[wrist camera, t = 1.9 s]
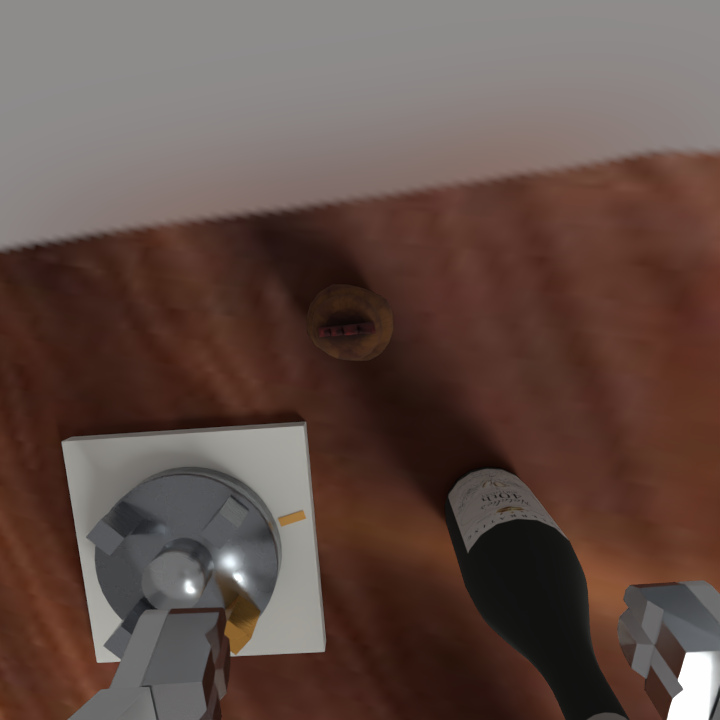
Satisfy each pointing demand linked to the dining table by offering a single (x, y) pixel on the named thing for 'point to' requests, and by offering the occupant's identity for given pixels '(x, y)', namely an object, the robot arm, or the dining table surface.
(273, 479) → the base plate
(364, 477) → the dining table surface
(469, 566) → the wine bottle
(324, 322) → the wooden figurine
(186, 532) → the lathe chuck
